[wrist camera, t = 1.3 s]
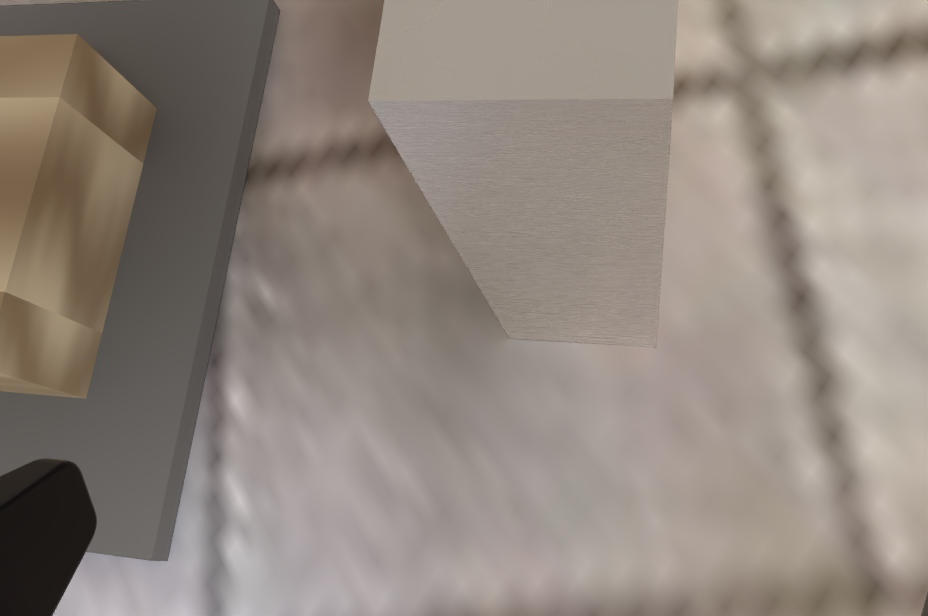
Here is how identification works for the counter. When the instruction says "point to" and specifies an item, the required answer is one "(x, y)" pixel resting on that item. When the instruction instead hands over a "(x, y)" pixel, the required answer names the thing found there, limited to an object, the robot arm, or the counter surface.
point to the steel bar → (540, 151)
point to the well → (62, 205)
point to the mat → (154, 256)
